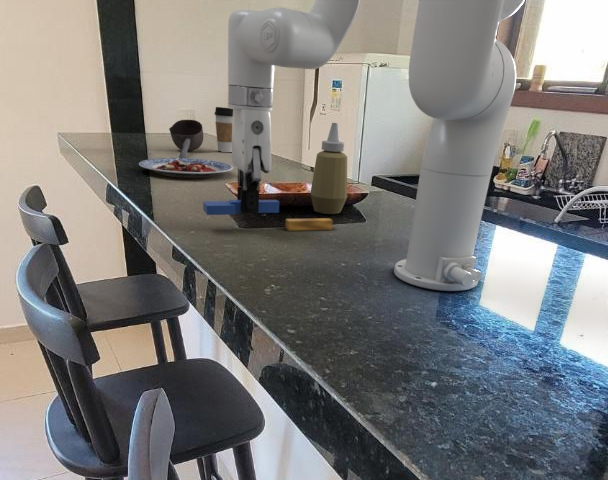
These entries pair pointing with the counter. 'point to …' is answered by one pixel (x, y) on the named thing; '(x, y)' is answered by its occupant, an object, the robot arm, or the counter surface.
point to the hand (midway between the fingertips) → (247, 210)
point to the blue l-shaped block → (237, 207)
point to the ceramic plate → (186, 167)
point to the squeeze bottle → (330, 175)
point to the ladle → (187, 136)
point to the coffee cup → (224, 128)
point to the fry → (309, 224)
